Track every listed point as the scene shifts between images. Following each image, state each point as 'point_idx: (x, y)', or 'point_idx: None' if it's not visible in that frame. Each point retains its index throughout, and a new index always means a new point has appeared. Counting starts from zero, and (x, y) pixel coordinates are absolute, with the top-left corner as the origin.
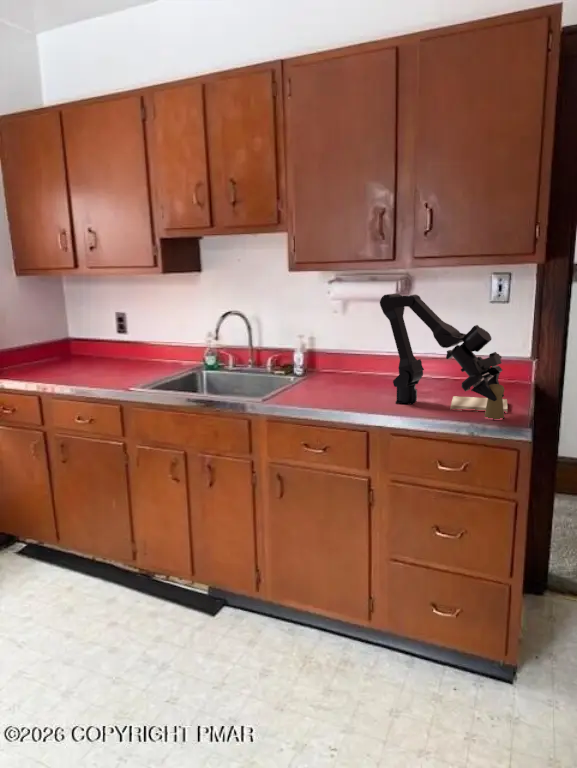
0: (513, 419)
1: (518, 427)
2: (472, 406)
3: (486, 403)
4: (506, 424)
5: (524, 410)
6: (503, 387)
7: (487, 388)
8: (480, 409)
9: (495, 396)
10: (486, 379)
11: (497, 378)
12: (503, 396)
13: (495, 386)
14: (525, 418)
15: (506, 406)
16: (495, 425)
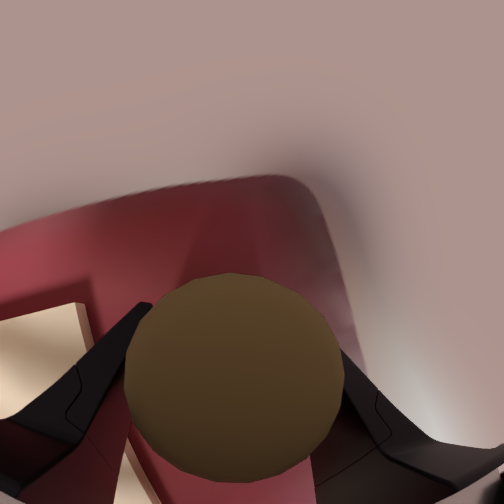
0: (187, 245)
1: (312, 195)
2: (135, 488)
3: None
4: (297, 254)
5: (10, 236)
6: (230, 280)
7: (401, 419)
8: (126, 446)
9: None
10: (479, 464)
11: (13, 435)
12: (150, 305)
13: (329, 371)
14: (141, 196)
15: (32, 318)
16: (340, 296)
